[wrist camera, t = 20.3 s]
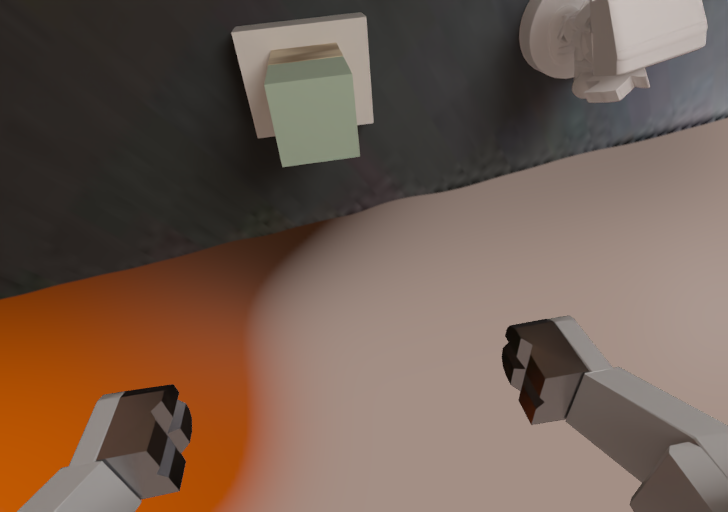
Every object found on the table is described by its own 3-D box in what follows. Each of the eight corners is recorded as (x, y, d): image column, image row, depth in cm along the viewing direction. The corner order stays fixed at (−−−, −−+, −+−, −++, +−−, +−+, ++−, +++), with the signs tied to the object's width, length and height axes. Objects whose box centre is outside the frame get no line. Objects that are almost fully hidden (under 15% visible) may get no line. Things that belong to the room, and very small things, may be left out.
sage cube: (343, 56, 27) (352, 73, 23) (350, 129, 30) (360, 156, 26) (268, 65, 27) (264, 84, 23) (283, 138, 30) (282, 167, 26)
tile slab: (360, 12, 32) (366, 16, 30) (368, 112, 37) (373, 122, 35) (235, 26, 32) (231, 32, 29) (259, 126, 37) (257, 138, 34)
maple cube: (336, 42, 31) (343, 55, 27) (343, 108, 34) (350, 129, 30) (270, 50, 30) (267, 64, 27) (284, 116, 34) (283, 138, 30)
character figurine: (520, 86, 38) (597, 130, 28) (516, -32, 32) (610, -27, 23) (612, 55, 38) (722, 89, 28) (624, -71, 32) (767, -82, 22)
